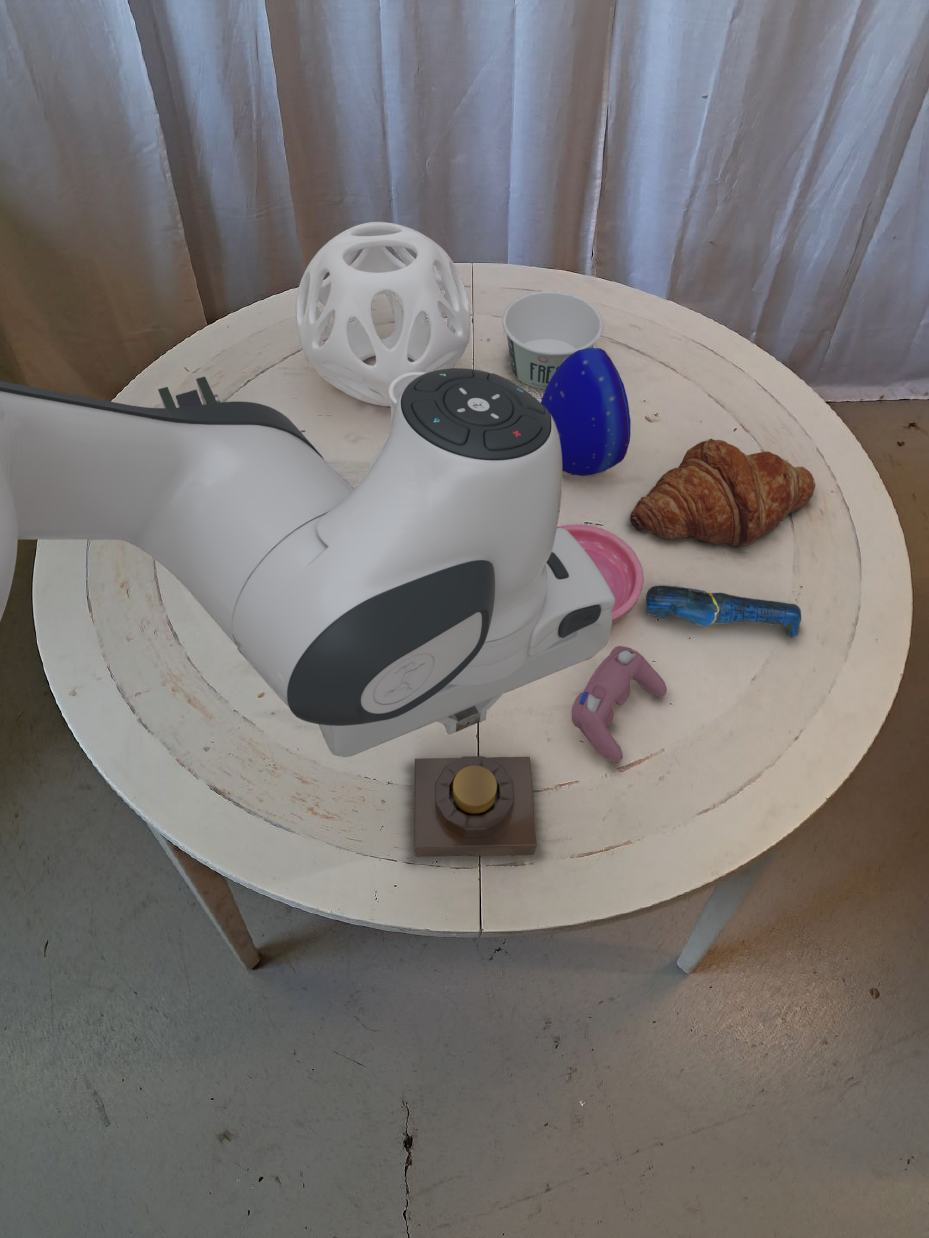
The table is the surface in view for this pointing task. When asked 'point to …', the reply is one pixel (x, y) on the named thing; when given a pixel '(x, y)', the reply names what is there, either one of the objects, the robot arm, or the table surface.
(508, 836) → the button block
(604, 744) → the video game controller
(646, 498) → the pastry
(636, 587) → the saucer
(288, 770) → the table surface
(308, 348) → the decorative ball
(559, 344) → the food container
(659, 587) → the figurine
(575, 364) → the ornament
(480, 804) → the button
